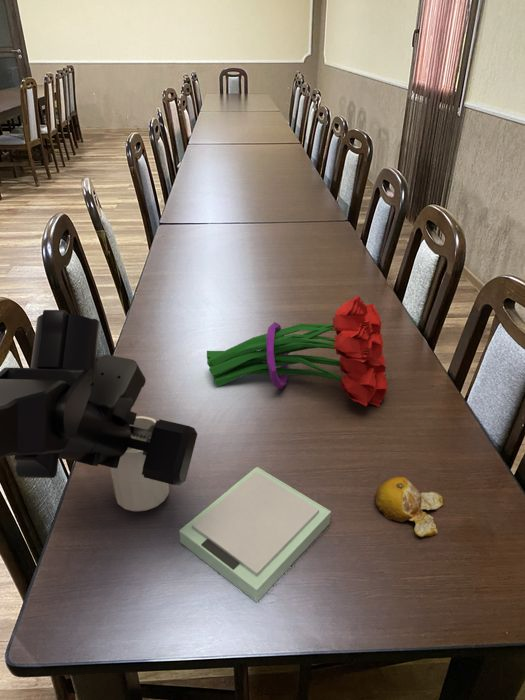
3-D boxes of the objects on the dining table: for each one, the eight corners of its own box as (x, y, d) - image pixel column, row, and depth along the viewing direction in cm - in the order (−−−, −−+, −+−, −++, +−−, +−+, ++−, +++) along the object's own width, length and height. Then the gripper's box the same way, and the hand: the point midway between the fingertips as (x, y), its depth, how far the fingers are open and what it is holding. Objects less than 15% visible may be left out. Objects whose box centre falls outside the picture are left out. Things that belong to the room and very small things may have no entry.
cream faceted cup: (139, 523, 65) (129, 461, 60) (105, 496, 69) (92, 435, 63) (180, 492, 69) (174, 431, 64) (146, 467, 73) (138, 409, 68)
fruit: (434, 544, 64) (440, 523, 62) (366, 522, 67) (369, 501, 65) (444, 496, 71) (449, 476, 69) (381, 478, 73) (384, 458, 71)
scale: (256, 602, 57) (256, 586, 56) (180, 542, 64) (178, 526, 63) (330, 523, 67) (331, 507, 65) (256, 478, 73) (256, 462, 72)
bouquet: (228, 383, 103) (387, 369, 96) (206, 439, 89) (391, 428, 82) (201, 290, 94) (375, 267, 86) (172, 337, 80) (377, 314, 73)
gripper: (183, 366, 51) (228, 396, 66) (20, 335, 56) (96, 369, 71) (152, 484, 49) (206, 487, 63) (-16, 441, 54) (70, 453, 68)
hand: (142, 445), depth 66 cm, fingers closed on cream faceted cup, 7 cm apart
